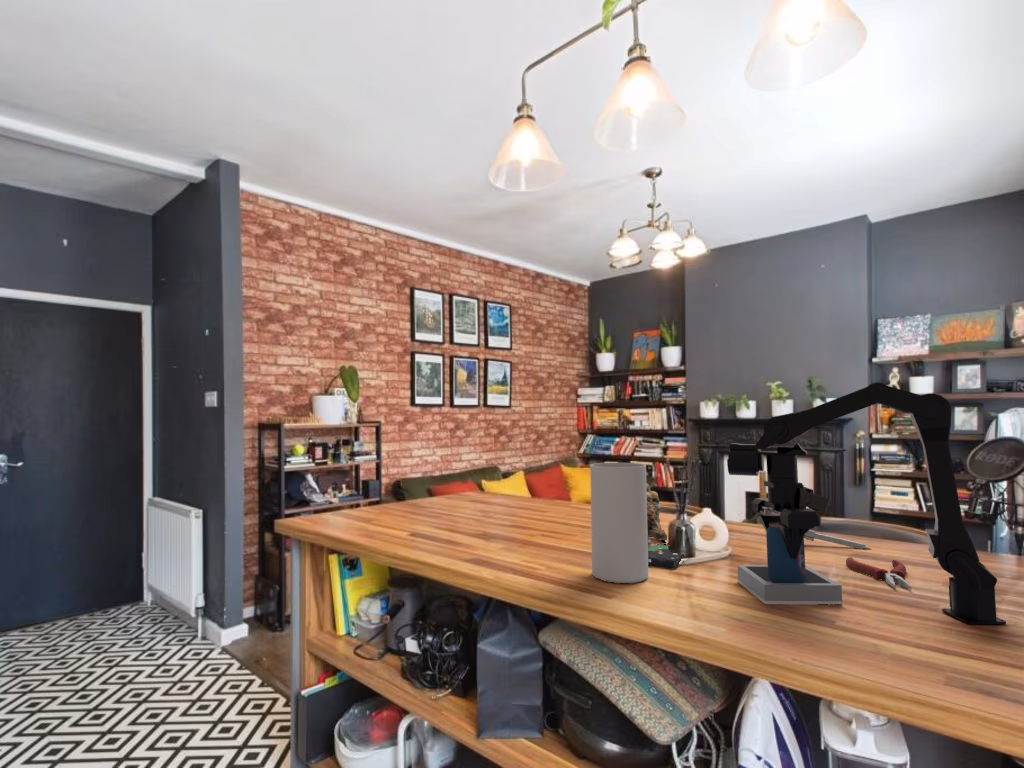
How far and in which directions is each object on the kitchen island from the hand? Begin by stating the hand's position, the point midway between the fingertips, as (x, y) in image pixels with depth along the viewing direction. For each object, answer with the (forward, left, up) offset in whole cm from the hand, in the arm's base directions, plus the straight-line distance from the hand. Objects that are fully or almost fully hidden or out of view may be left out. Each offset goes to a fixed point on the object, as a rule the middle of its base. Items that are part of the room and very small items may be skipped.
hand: (785, 554), depth 113 cm
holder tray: (0, 0, -8) cm, 8 cm away
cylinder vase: (+11, +32, -8) cm, 35 cm away
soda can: (0, 0, -6) cm, 6 cm away
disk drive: (+26, +19, -8) cm, 33 cm away
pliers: (+13, -25, -9) cm, 30 cm away
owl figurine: (+46, +19, -8) cm, 51 cm away
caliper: (+41, -29, -8) cm, 51 cm away
